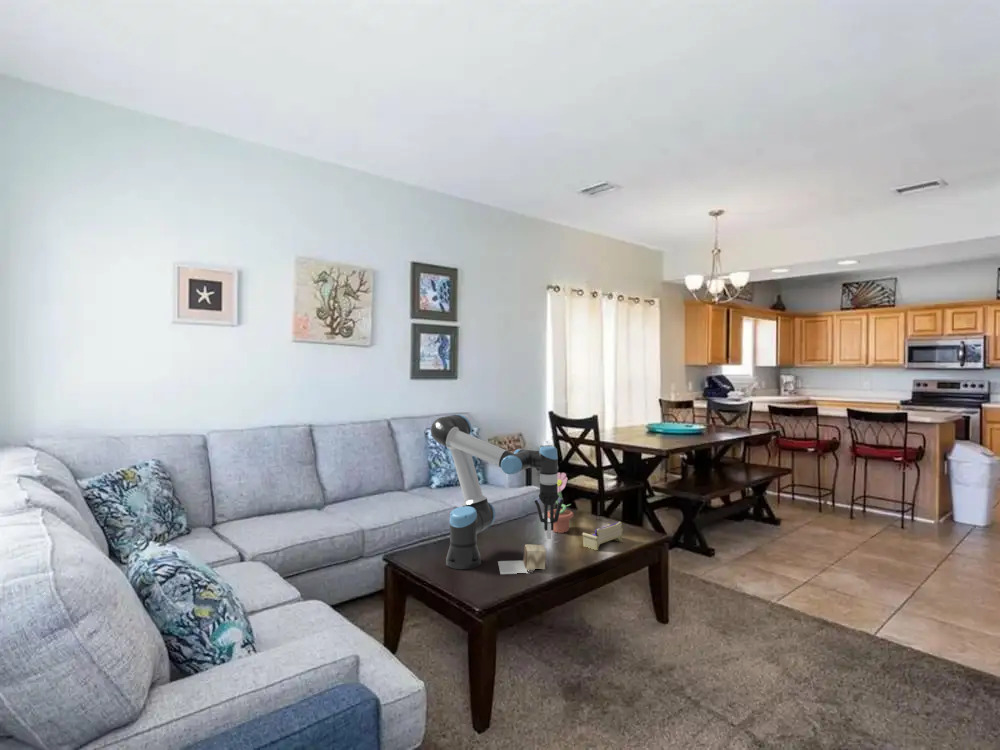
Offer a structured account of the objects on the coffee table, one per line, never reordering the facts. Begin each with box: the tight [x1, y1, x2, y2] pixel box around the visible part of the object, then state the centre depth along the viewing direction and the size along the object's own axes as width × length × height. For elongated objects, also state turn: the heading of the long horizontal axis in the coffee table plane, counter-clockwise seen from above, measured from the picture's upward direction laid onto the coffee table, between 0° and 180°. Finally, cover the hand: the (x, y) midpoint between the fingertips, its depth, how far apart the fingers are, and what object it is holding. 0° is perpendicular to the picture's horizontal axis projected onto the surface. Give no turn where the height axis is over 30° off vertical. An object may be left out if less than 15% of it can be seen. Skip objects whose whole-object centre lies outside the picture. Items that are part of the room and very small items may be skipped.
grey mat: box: [497, 559, 529, 575], centre depth 238 cm, size 14×14×1 cm
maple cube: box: [522, 544, 547, 571], centre depth 239 cm, size 8×8×8 cm
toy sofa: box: [582, 521, 624, 551], centre depth 268 cm, size 21×9×10 cm, turn 133°
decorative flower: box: [548, 472, 574, 534], centre depth 288 cm, size 15×14×30 cm
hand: (548, 537), depth 239 cm, fingers closed
